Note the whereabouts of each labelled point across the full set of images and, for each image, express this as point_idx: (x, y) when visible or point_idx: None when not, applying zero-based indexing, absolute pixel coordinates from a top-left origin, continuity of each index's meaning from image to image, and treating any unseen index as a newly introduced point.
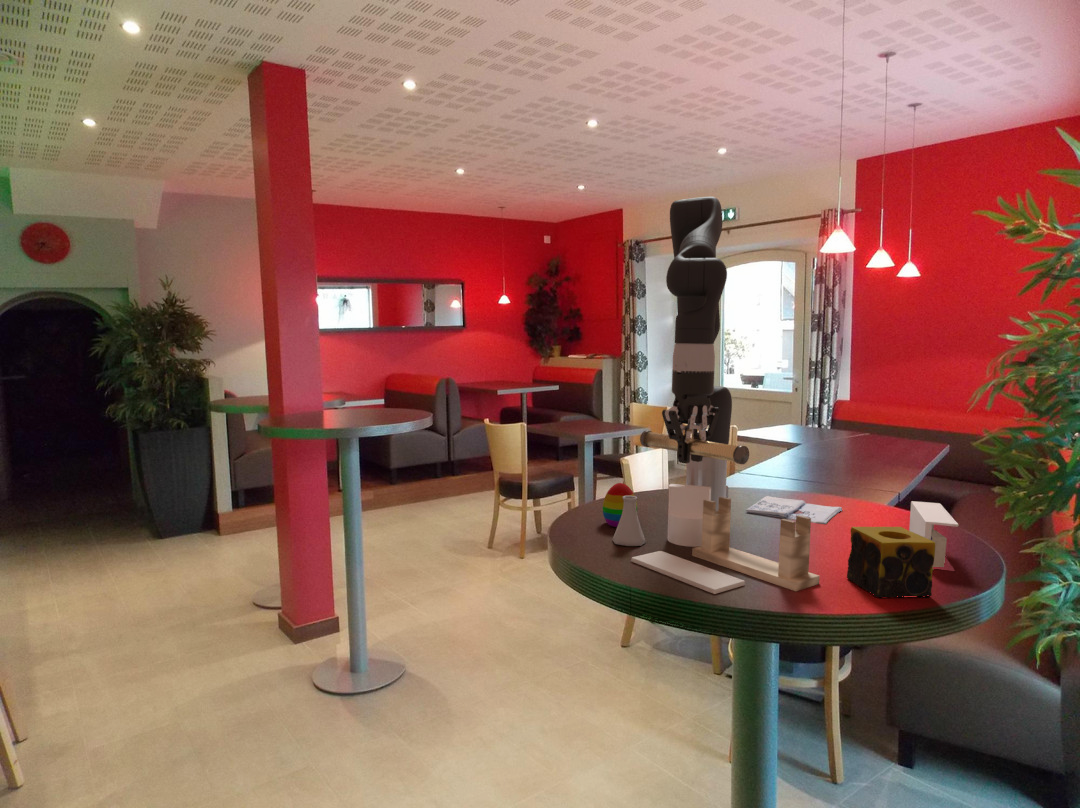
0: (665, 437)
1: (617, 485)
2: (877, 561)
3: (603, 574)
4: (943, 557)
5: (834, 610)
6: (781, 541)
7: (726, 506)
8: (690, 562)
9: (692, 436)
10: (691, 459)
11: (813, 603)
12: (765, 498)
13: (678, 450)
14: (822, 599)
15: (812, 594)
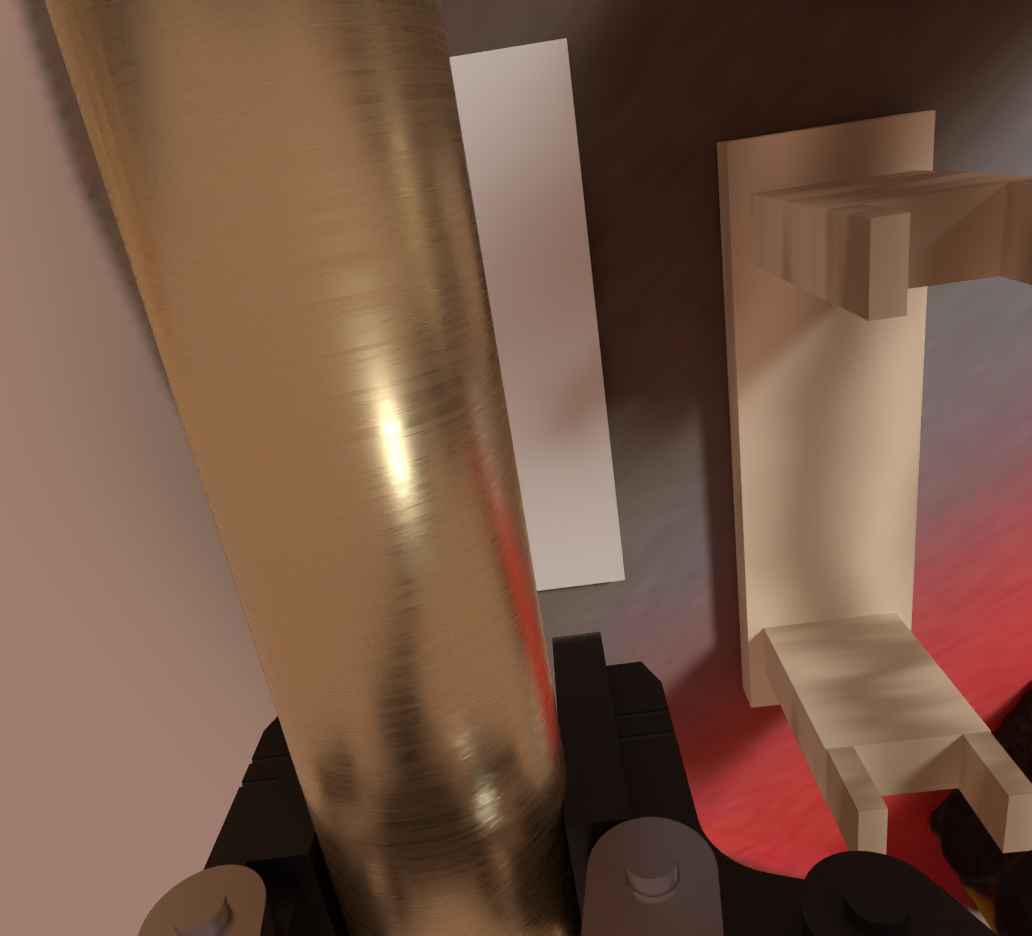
0: (206, 474)
1: None
2: (1020, 910)
3: (105, 199)
4: None
5: (707, 828)
6: (813, 736)
7: (1029, 268)
8: (580, 295)
9: (584, 908)
10: (554, 642)
11: (699, 772)
12: None
13: (241, 811)
14: (758, 763)
15: (770, 723)
